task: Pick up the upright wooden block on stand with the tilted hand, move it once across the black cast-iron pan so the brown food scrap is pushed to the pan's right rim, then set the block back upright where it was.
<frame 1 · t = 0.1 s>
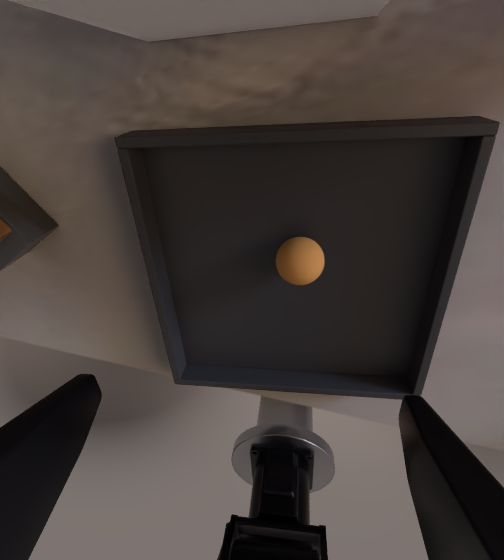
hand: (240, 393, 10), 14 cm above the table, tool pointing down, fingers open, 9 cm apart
wooden block on stand: (9, 206, 25), on the table
food scrap: (299, 261, 21), point 2 cm above the table, touching pan
pan: (292, 272, 24), on the table
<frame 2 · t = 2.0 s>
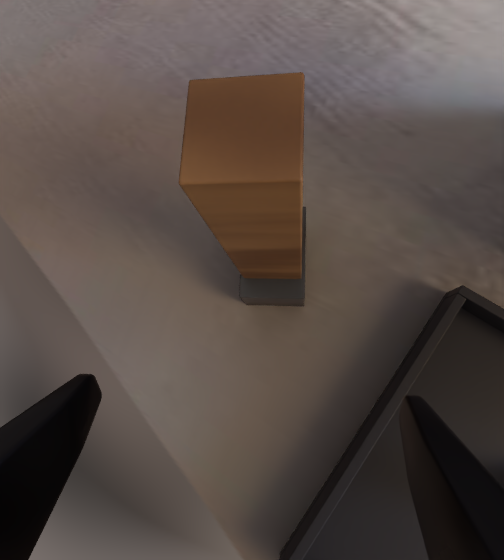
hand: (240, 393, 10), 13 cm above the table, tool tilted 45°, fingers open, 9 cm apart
wooden block on stand: (276, 263, 25), on the table
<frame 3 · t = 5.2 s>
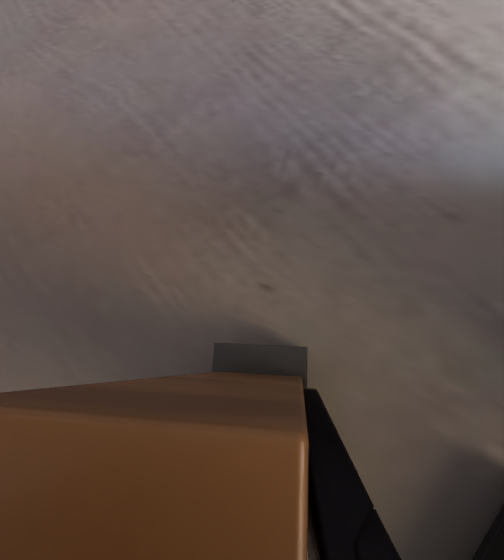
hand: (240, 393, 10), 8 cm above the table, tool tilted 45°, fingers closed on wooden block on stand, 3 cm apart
wooden block on stand: (263, 410, 17), on the table, touching gripper
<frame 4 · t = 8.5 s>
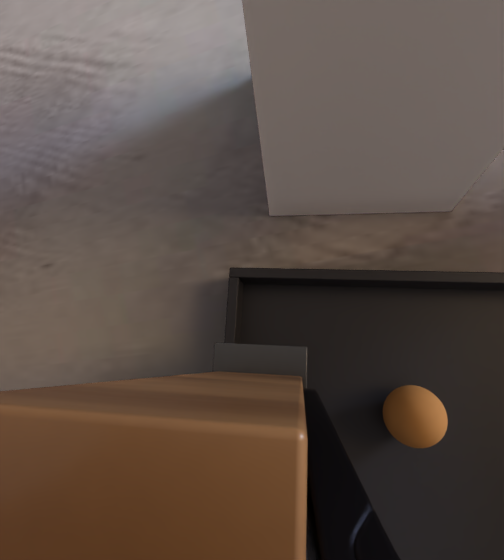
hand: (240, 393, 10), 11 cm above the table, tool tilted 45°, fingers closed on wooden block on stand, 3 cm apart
milk: (353, 135, 24), on the table
wooden block on stand: (264, 409, 17), point 4 cm above the table, touching gripper
food scrap: (414, 415, 18), point 2 cm above the table, touching pan
pan: (394, 447, 19), on the table
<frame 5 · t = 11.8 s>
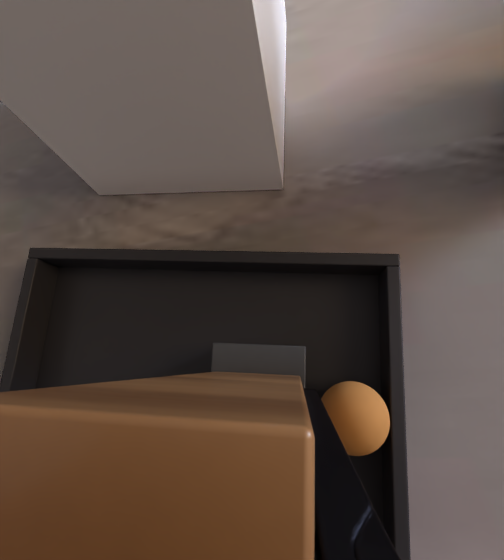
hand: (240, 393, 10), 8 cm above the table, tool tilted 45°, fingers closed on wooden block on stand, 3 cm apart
milk: (196, 109, 22), on the table
wooden block on stand: (262, 409, 17), point 1 cm above the table, touching gripper
food scrap: (352, 417, 15), point 2 cm above the table, tilted 93°, touching pan
pan: (194, 445, 17), on the table
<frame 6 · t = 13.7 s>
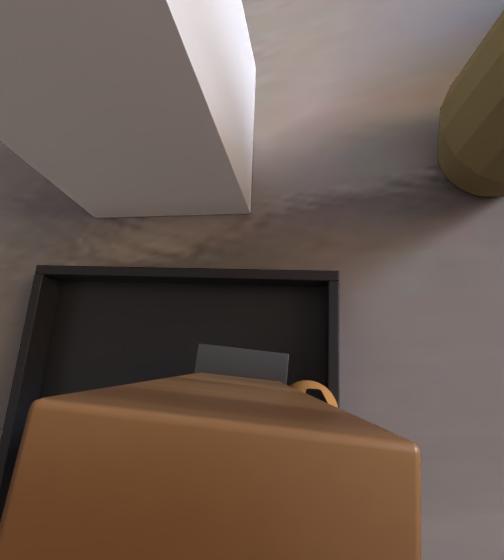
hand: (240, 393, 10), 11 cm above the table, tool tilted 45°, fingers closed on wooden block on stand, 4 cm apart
milk: (178, 142, 26), on the table
wooden block on stand: (236, 412, 17), point 4 cm above the table, tilted 9°, touching food scrap, gripper
squeeze bottle: (483, 158, 23), on the table
food scrap: (307, 411, 17), point 3 cm above the table, tilted 38°, touching wooden block on stand, pan
pan: (174, 429, 21), on the table
when the fingers open (8 cm above the table, at t = 19.3 s): wooden block on stand stays where it is, on the table.
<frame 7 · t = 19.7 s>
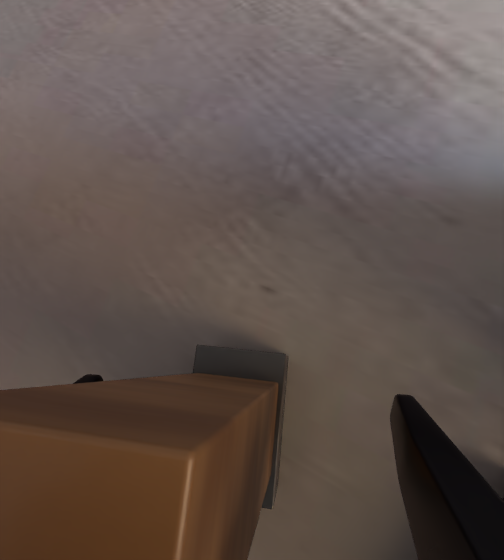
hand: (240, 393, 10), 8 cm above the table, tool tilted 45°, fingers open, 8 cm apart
wooden block on stand: (243, 412, 17), on the table
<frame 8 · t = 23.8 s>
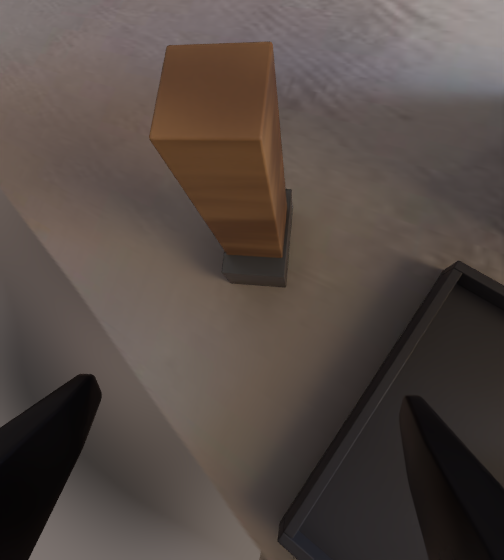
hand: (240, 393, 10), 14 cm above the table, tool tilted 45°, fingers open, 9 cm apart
wooden block on stand: (262, 245, 25), on the table
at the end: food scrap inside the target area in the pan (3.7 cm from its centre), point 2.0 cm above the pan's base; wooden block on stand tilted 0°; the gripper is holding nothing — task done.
